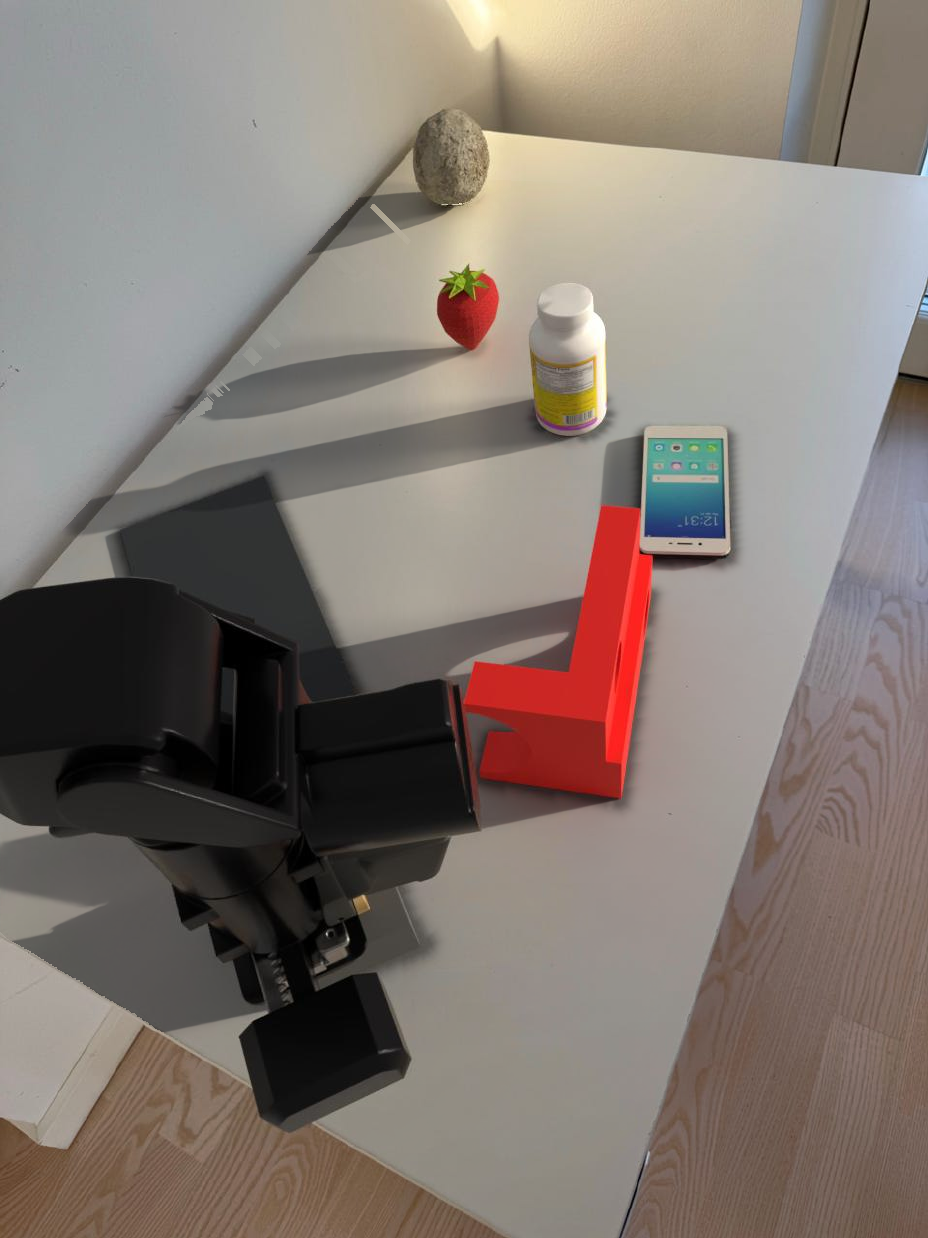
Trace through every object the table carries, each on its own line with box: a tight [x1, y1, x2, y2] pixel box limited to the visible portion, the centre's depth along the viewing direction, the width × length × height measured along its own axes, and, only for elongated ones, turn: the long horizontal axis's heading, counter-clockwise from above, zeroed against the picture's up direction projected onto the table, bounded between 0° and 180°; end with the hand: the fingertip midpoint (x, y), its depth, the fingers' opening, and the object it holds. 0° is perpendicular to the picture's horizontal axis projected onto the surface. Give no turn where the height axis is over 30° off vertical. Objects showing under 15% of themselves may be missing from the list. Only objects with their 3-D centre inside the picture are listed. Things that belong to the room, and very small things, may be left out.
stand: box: [286, 886, 421, 1002], centre depth 66 cm, size 9×9×4 cm
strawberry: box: [436, 263, 500, 351], centre depth 97 cm, size 6×8×10 cm
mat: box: [119, 475, 357, 715], centre depth 81 cm, size 38×14×1 cm, turn 23°
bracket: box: [463, 504, 654, 799], centre depth 72 cm, size 18×10×10 cm
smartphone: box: [639, 425, 732, 560], centre depth 85 cm, size 8×1×15 cm
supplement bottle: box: [528, 282, 608, 437], centre depth 88 cm, size 7×7×13 cm
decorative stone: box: [412, 107, 491, 207], centre depth 114 cm, size 10×8×10 cm
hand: (322, 955), depth 52 cm, fingers closed
